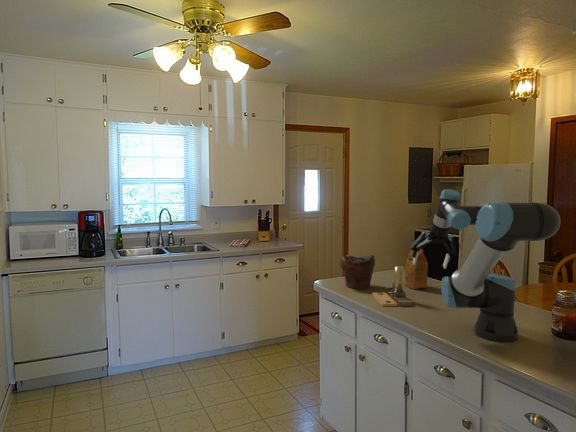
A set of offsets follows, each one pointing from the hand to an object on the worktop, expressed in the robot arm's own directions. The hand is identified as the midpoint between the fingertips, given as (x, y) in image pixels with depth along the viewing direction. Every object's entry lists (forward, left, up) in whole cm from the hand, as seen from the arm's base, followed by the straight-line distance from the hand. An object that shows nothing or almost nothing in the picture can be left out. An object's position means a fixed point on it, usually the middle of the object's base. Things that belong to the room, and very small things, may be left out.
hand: (429, 265), depth 191 cm
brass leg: (+17, +9, -18) cm, 27 cm away
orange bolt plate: (+16, +16, -21) cm, 30 cm away
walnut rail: (+16, +8, -21) cm, 27 cm away
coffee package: (+42, -9, -21) cm, 48 cm away
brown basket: (+44, +23, -21) cm, 54 cm away
